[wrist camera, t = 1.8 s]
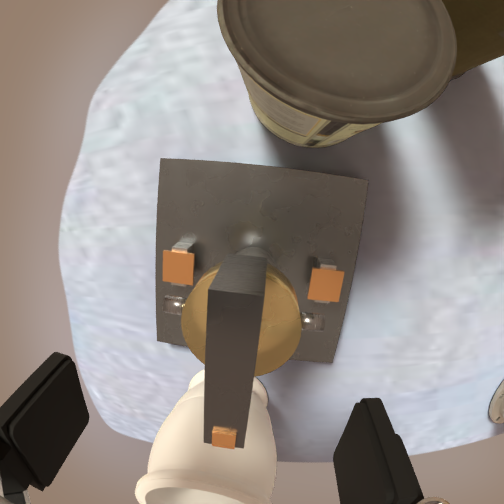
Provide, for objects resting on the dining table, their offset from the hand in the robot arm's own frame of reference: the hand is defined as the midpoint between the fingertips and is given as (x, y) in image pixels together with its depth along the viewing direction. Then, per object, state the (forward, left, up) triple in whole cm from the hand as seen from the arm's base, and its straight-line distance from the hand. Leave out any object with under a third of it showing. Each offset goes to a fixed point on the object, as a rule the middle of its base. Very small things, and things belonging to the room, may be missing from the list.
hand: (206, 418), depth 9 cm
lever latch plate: (0, 0, -18) cm, 18 cm away
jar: (+1, +15, -18) cm, 24 cm away
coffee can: (-3, -15, -18) cm, 24 cm away
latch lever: (0, 0, -9) cm, 9 cm away
